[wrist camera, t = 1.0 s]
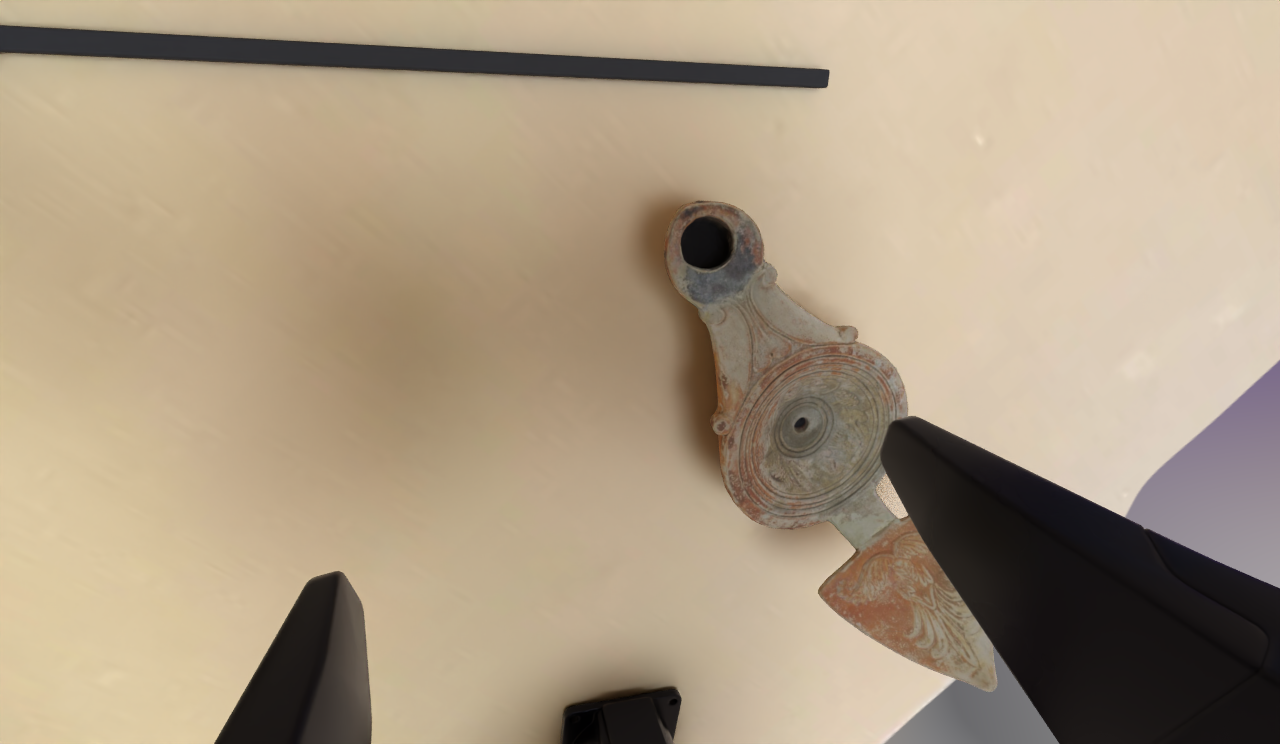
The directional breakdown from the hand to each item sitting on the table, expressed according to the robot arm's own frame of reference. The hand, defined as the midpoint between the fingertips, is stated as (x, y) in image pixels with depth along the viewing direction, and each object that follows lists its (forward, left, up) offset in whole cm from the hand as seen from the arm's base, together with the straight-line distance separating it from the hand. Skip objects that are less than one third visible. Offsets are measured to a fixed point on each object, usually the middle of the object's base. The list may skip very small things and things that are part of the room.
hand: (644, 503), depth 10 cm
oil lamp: (-5, -11, -15) cm, 19 cm away
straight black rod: (+7, +2, -14) cm, 16 cm away
